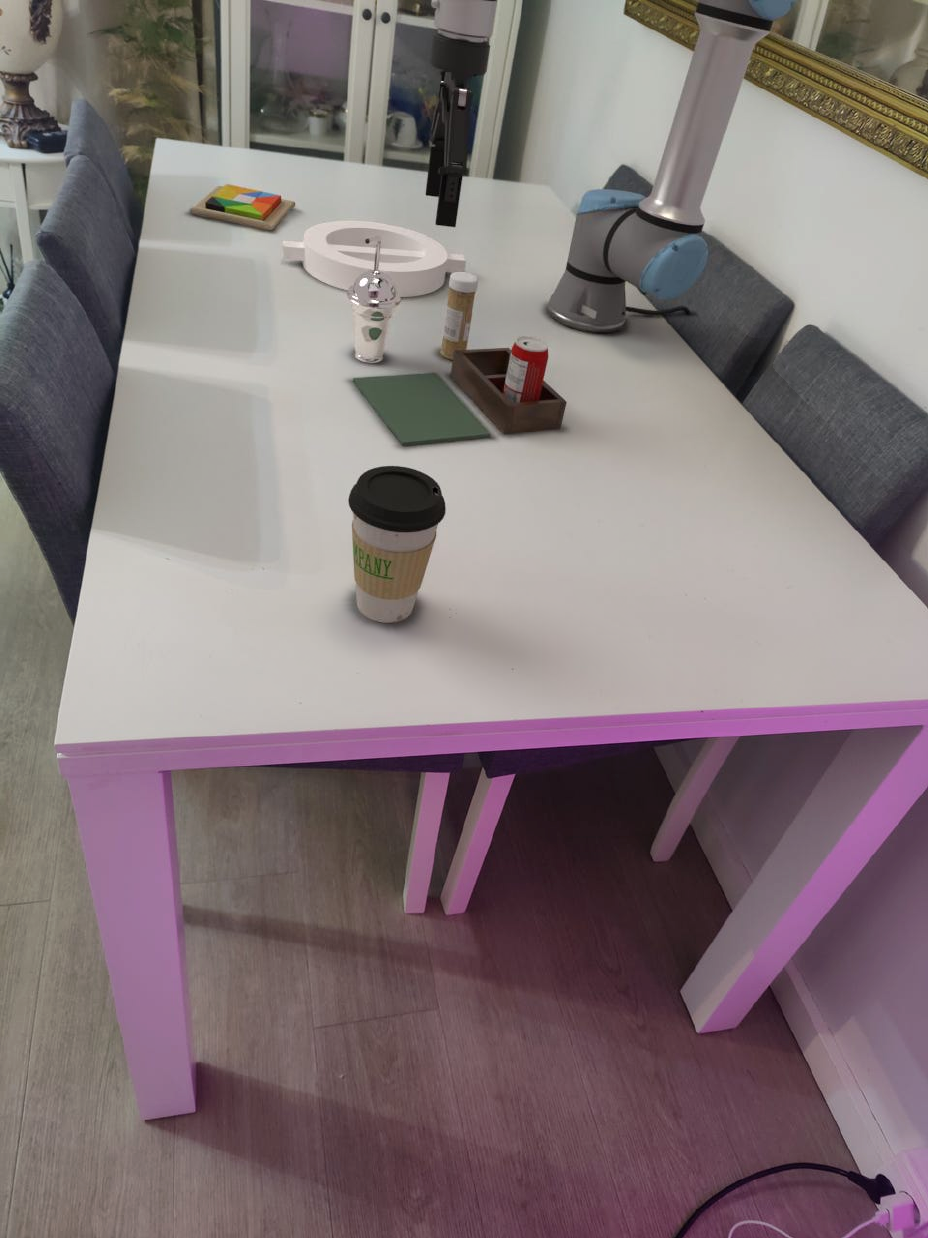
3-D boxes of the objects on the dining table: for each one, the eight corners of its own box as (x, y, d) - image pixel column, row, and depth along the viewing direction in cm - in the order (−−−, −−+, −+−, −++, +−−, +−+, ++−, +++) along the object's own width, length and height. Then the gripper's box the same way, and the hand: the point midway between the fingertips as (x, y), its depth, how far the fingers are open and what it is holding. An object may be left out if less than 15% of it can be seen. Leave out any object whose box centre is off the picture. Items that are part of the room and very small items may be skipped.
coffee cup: (340, 574, 102) (349, 458, 93) (426, 579, 104) (444, 466, 94) (339, 631, 95) (349, 511, 85) (432, 636, 96) (452, 519, 87)
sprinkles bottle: (471, 359, 153) (484, 280, 144) (448, 362, 150) (460, 281, 142) (456, 348, 155) (468, 269, 147) (434, 350, 153) (445, 271, 145)
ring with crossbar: (470, 276, 184) (474, 252, 181) (390, 308, 164) (393, 282, 161) (360, 235, 193) (362, 212, 190) (272, 261, 173) (272, 236, 170)
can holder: (503, 373, 150) (508, 347, 148) (560, 428, 138) (567, 401, 135) (449, 376, 146) (453, 350, 143) (503, 434, 134) (509, 406, 131)
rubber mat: (434, 376, 146) (435, 372, 145) (490, 437, 132) (490, 433, 132) (352, 381, 140) (353, 377, 139) (402, 446, 127) (403, 442, 126)
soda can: (538, 413, 141) (554, 339, 133) (529, 427, 137) (545, 352, 129) (505, 403, 142) (519, 329, 134) (494, 417, 138) (509, 342, 130)
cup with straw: (405, 361, 148) (420, 235, 135) (364, 373, 142) (376, 243, 130) (370, 341, 152) (381, 217, 139) (329, 352, 146) (336, 224, 134)
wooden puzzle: (187, 216, 186) (186, 198, 184) (220, 193, 201) (220, 176, 198) (269, 233, 186) (269, 215, 183) (296, 209, 200) (297, 192, 198)
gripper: (423, 15, 123) (406, 181, 137) (444, 47, 105) (422, 235, 118) (476, 24, 125) (454, 187, 138) (507, 57, 106) (478, 242, 120)
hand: (439, 210), depth 128 cm, fingers open, 13 cm apart
